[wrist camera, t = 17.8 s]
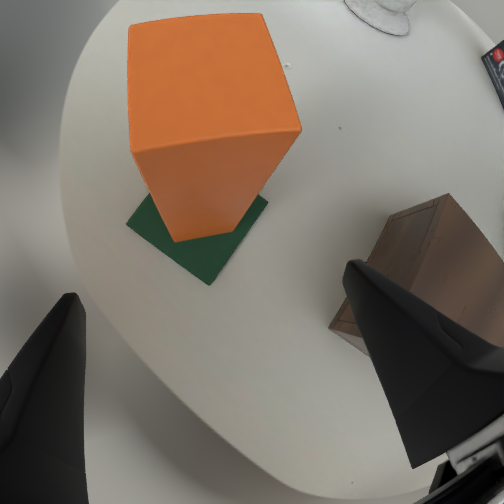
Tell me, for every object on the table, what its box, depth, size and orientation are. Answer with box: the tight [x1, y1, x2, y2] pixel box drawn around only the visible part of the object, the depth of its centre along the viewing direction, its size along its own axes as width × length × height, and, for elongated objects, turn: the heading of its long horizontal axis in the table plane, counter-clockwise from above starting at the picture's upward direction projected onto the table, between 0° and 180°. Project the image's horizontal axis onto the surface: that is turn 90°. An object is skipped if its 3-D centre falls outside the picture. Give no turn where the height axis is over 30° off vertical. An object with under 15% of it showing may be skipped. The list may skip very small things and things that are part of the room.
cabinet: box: [328, 193, 504, 357], centre depth 19 cm, size 16×11×7 cm
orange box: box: [128, 13, 302, 242], centre depth 13 cm, size 4×4×14 cm
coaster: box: [126, 193, 268, 285], centre depth 20 cm, size 7×7×1 cm
